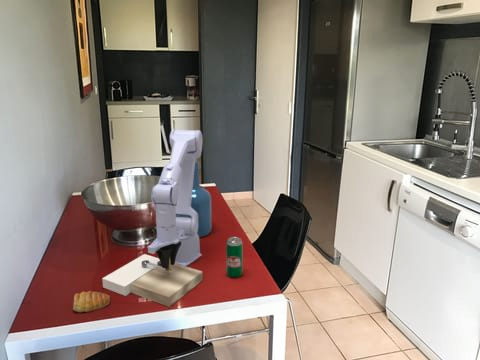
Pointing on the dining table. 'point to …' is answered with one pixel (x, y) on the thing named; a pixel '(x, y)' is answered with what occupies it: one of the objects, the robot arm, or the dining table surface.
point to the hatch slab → (167, 284)
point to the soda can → (234, 257)
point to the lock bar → (157, 266)
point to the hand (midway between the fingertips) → (168, 265)
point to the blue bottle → (201, 205)
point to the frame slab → (127, 275)
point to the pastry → (90, 301)
